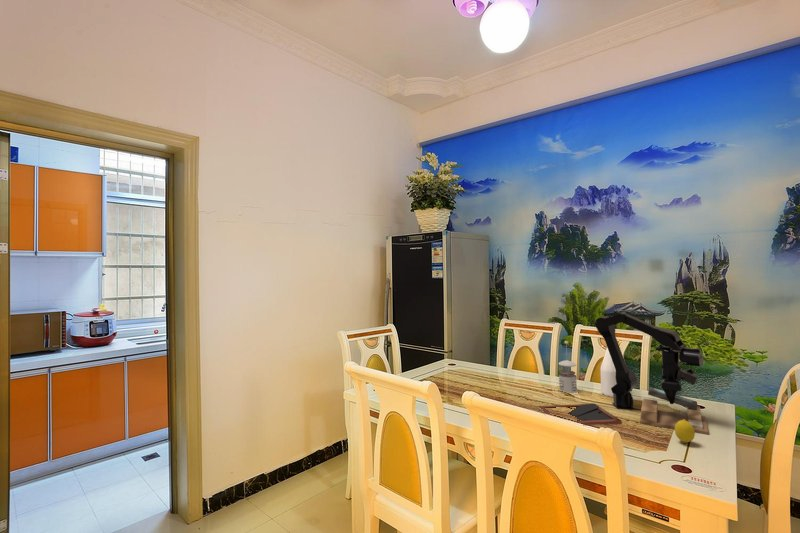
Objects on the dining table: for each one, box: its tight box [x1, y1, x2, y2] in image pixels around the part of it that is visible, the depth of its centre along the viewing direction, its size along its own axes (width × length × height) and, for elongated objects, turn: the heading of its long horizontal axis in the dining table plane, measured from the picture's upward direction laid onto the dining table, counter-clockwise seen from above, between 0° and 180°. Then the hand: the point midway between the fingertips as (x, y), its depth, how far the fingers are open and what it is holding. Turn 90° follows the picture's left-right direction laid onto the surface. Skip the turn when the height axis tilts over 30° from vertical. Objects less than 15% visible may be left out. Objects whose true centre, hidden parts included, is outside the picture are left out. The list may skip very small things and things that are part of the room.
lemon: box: [674, 419, 696, 444], centre depth 136 cm, size 6×6×8 cm
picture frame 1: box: [537, 403, 623, 426], centre depth 164 cm, size 20×2×25 cm
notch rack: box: [639, 398, 709, 435], centre depth 155 cm, size 21×17×5 cm
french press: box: [558, 340, 579, 393], centre depth 196 cm, size 10×12×25 cm
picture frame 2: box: [647, 386, 699, 410], centre depth 158 cm, size 16×5×2 cm, turn 56°
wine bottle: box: [600, 347, 617, 398], centre depth 189 cm, size 10×10×30 cm
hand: (671, 402), depth 158 cm, fingers closed on picture frame 2, 5 cm apart
